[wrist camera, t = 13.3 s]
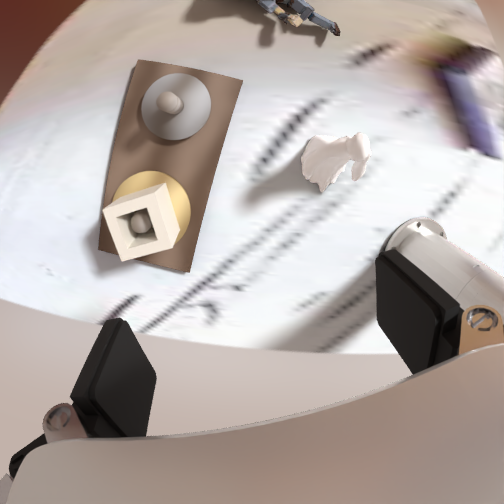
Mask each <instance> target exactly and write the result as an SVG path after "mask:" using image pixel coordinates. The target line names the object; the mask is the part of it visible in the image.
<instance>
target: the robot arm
mask: <svg viewBox="0 0 504 504" xmlns="http://www.w3.org/2000/svg"><path fill="white" fill-rule="evenodd" d="M375 264H376V294H377V321H378V324H379V326H380V327H381V329H382V330H383V332H384V333H385V335H386V336H387V337H388V339H389V340H390V342H391V343H392V345H393V346H394V347H395V349H396V350H397V352H398V353H399V355H400V356H401V358H402V359H403V360H404V362H405V363H406V365H407V366H408V368H409V369H410V371H411V372H412V374H413V375H411V376H409V377H407V378H404V379H401V380H399V381H396V382H394V383H391V384H388V385H386V386H383V387H380V388H378V389H375V390H372V391H369V392H367V393H364V394H361V395H358V396H355V397H352V398H349V399H346V400H343V401H340V402H337V403H333V404H330V405H326V406H323V407H319V408H316V409H313V410H308V411H305V412H301V413H297V414H293V415H289V416H285V417H280V418H276V419H271V420H267V421H262V422H257V423H252V424H247V425H241V426H236V427H229V428H223V429H217V430H210V431H202V432H193V433H184V434H175V435H162V436H147V437H146V433H147V427H148V421H149V415H150V410H151V405H152V400H153V394H154V390H155V384H156V379H157V378H156V373H155V370H154V369H153V367H152V365H151V364H150V362H149V360H148V359H147V357H146V355H145V353H144V352H143V350H142V348H141V346H140V344H139V343H138V341H137V339H136V337H135V335H134V333H133V332H132V330H131V328H130V326H129V324H128V322H127V321H123V320H122V319H121V318H115V319H111V320H107V321H106V322H105V323H104V325H103V327H102V329H101V331H100V333H99V335H98V338H97V339H96V341H95V343H94V345H93V347H92V349H91V352H90V353H89V355H88V358H87V360H86V362H85V364H84V366H83V368H82V370H81V373H80V375H79V377H78V379H77V381H76V384H75V386H74V388H73V390H72V393H71V395H70V398H71V399H72V400H73V401H74V402H73V404H72V405H70V404H68V403H61V404H58V405H56V406H54V407H53V408H51V409H50V410H49V411H48V412H47V414H46V415H45V417H44V419H43V430H44V434H42V435H41V436H40V437H38V438H37V439H36V440H34V441H33V442H31V443H30V444H28V445H27V446H26V447H24V448H23V449H21V450H20V451H18V452H17V453H16V454H14V455H13V456H12V458H11V461H10V465H9V472H10V476H9V475H8V474H6V475H5V476H4V477H3V478H2V479H1V480H0V504H504V277H503V276H501V275H500V274H498V273H497V272H496V271H494V270H492V269H491V268H490V267H488V266H487V265H485V264H484V263H482V262H481V261H479V260H478V259H476V258H475V257H473V256H472V255H470V254H469V253H467V252H466V251H464V250H462V249H461V248H459V247H458V246H456V245H455V244H453V243H451V242H450V241H448V240H447V237H446V234H445V232H444V230H443V228H442V227H441V226H440V225H439V223H437V222H436V221H434V220H432V219H430V218H426V217H418V218H414V219H411V220H409V221H407V222H406V223H404V224H403V225H402V226H400V227H399V228H398V229H397V230H396V232H395V233H394V234H393V235H392V237H391V238H390V240H389V242H388V244H387V246H386V249H385V251H384V252H381V253H380V254H379V257H378V258H376V260H375Z"/></svg>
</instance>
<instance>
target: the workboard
mask: <svg viewBox="0 0 504 504" xmlns="http://www.w3.org/2000/svg"><path fill="white" fill-rule="evenodd" d="M242 82H243V80H239V79H236V78H232V77H228V76H224V75H220V74H216V73H211V72H207V71H202V70H198V69H193V68H188V67H183V66H177V65H172V64H166V63H160V62H153V61H146V60H138V61H137V64H136V67H135V70H134V73H133V76H132V79H131V83H130V86H129V89H128V93H127V96H126V99H125V103H124V107H123V110H122V114H121V118H120V122H119V126H118V130H117V135H116V139H115V143H114V148H113V153H112V158H111V163H110V168H109V173H108V179H107V185H106V191H105V197H104V204H103V209H104V208H105V207H107V206H108V205H110V204H111V203H112V202H114V201H115V200H117V199H118V198H120V197H122V196H125V195H128V194H131V193H134V192H137V191H140V190H143V189H146V188H149V187H152V186H156V185H159V184H162V183H166V185H167V189H168V192H169V196H170V199H171V202H172V205H173V209H174V212H175V215H176V218H177V222H178V225H179V228H180V231H179V233H178V236H177V238H176V241H175V243H174V245H173V248H171V249H167V250H163V251H160V252H156V253H152V254H148V255H145V256H141V257H137V258H134V259H136V260H140V261H144V262H148V263H152V264H156V265H160V266H164V267H168V268H172V269H176V270H180V271H184V272H189V273H190V269H191V265H192V260H193V256H194V252H195V248H196V244H197V240H198V236H199V232H200V228H201V224H202V220H203V216H204V212H205V208H206V204H207V200H208V197H209V193H210V189H211V186H212V182H213V178H214V175H215V171H216V168H217V164H218V161H219V157H220V154H221V150H222V147H223V143H224V140H225V137H226V133H227V130H228V127H229V123H230V120H231V117H232V114H233V110H234V107H235V104H236V101H237V98H238V95H239V92H240V88H241V85H242ZM131 226H132V228H133V230H134V231H136V232H137V233H145V232H147V231H148V230H149V229H150V228H152V227H153V224H152V221H151V218H150V215H149V212H148V209H147V208H143V209H140V210H137V211H135V214H134V215H133V216H132V218H131ZM98 250H101V251H105V252H109V253H113V254H116V255H119V254H118V251H117V249H116V246H115V243H114V241H113V238H112V235H111V233H110V230H109V227H108V225H107V222H106V219H105V216H104V213H103V211H102V219H101V227H100V236H99V247H98Z"/></svg>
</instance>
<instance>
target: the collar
mask: <svg viewBox="0 0 504 504" xmlns="http://www.w3.org/2000/svg"><path fill="white" fill-rule="evenodd" d="M143 208H147V209H148V212H149V215H150V218H151V221H152V224H153V227H152V228H150V229H149V230H148V231H147V232H145V233H137V232H136V231H134V230H133V228H132V226H131V218H132V216H133V215H134V214H135V211H137V210H140V209H143ZM103 213H104V216H105V219H106V222H107V225H108V227H109V230H110V233H111V235H112V238H113V241H114V243H115V246H116V249H117V251H118V254H119V256H120V259H121V261H122V262H123V261H126V260H130V259H134V258H137V257H141V256H145V255H148V254H152V253H156V252H160V251H163V250H167V249H171V248H173V245H174V243H175V241H176V238H177V236H178V233H179V231H180V228H179V225H178V222H177V218H176V215H175V212H174V209H173V205H172V202H171V199H170V196H169V192H168V189H167V185H166V183H162V184H159V185H156V186H152V187H149V188H146V189H143V190H140V191H137V192H134V193H131V194H128V195H125V196H122V197H120V198H118V199H117V200H115V201H114V202H112V203H111V204H110V205H108V206H107V207H105V208H104V209H103Z"/></svg>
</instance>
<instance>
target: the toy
mask: <svg viewBox="0 0 504 504" xmlns="http://www.w3.org/2000/svg"><path fill="white" fill-rule="evenodd" d="M256 1H259V2H258V4H259V5H260V6H262V7H263V8H264V9H265V10H266V11H268V12H269V13H270V14H271V13H272V12H273V11H274V12H275V13H276V14H277V17H278V18H279V19H281V20H282V21H283V22H284V23H285V24H288V23H290V24H291V25H293V26H296V27H298V26H299V25H300V24H301V23H303V21H305V20H306V19H307V18H308V19H309V21H311V22H313V23H315V24H317V25H319V26H321V27H323V28H325V29H327V28H328V30H330V31H331V33H333V34H334V35H335V36H340V30H339V28H338V26H337V24H336V23H335V22H331V21H330V20H328V19H326V18H325V17H323V16H321V15H319V14H317V13H315V12H313V11H314V8H313V7H311V6H310V5H309V4H308V3H307V2H306V1H304V0H256ZM277 3H284V4H287V7H290V8H293V9H294V10H295V11H296V12H297V13H299V14H301V15H300V16H298V15H293V14H291V13H285V11H284V10H283V9H282V8H280V7H279V6H278V5H277Z"/></svg>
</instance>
